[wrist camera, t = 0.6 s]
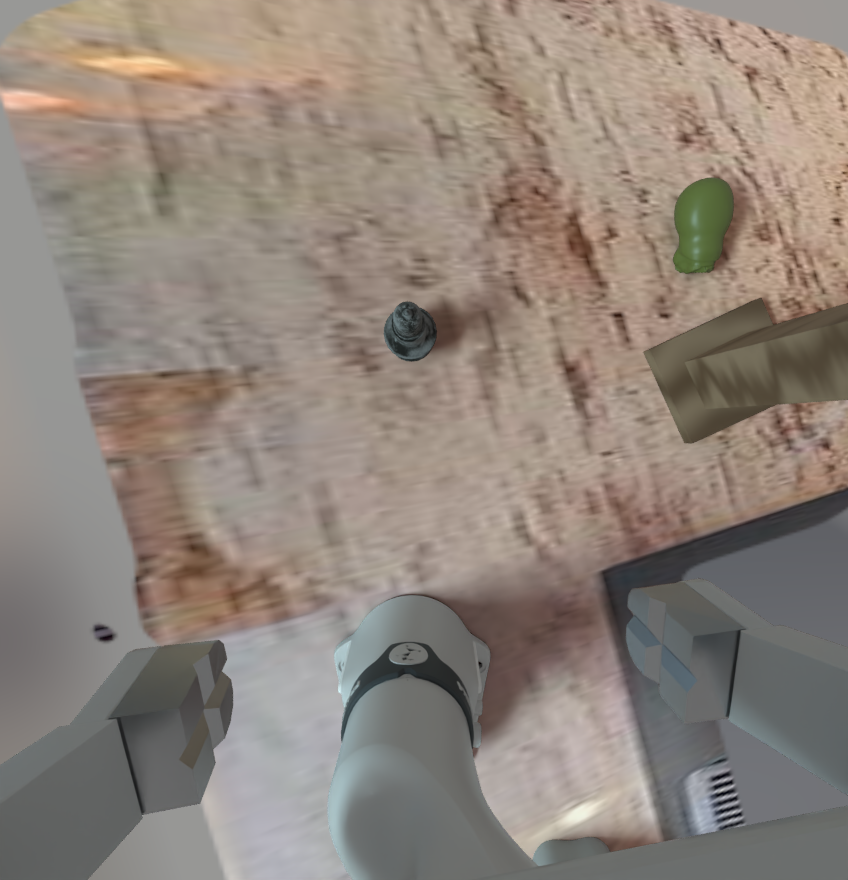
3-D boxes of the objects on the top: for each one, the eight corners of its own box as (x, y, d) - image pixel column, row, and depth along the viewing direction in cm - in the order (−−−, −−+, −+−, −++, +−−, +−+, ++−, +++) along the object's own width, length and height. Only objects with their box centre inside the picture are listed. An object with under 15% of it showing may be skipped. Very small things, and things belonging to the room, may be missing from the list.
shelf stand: (808, 430, 50) (1221, 435, 24) (701, 480, 50) (996, 537, 24) (751, 301, 50) (1108, 163, 24) (643, 351, 50) (880, 270, 24)
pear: (747, 167, 44) (738, 269, 46) (712, 187, 49) (706, 277, 51) (694, 170, 44) (688, 271, 46) (665, 190, 49) (660, 280, 51)
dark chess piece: (434, 312, 50) (437, 276, 38) (437, 362, 50) (441, 341, 38) (385, 316, 50) (372, 280, 38) (388, 365, 50) (376, 346, 38)
